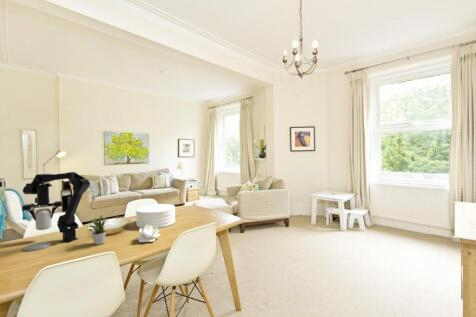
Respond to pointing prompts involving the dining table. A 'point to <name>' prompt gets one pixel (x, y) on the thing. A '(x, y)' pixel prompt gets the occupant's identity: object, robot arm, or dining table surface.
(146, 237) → the lotus flower
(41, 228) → the can
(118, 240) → the dining table surface
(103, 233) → the house plant
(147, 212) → the plate stack
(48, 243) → the coaster
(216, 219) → the dining table surface
